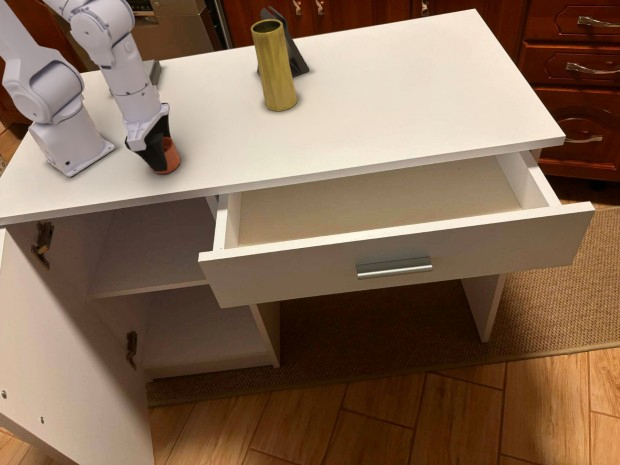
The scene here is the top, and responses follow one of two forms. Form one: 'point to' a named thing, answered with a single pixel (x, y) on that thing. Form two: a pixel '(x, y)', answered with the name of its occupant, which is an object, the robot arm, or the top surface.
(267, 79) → the vase
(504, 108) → the top surface
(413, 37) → the top surface
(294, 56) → the phone stand
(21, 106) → the robot arm
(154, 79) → the scale
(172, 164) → the cup
